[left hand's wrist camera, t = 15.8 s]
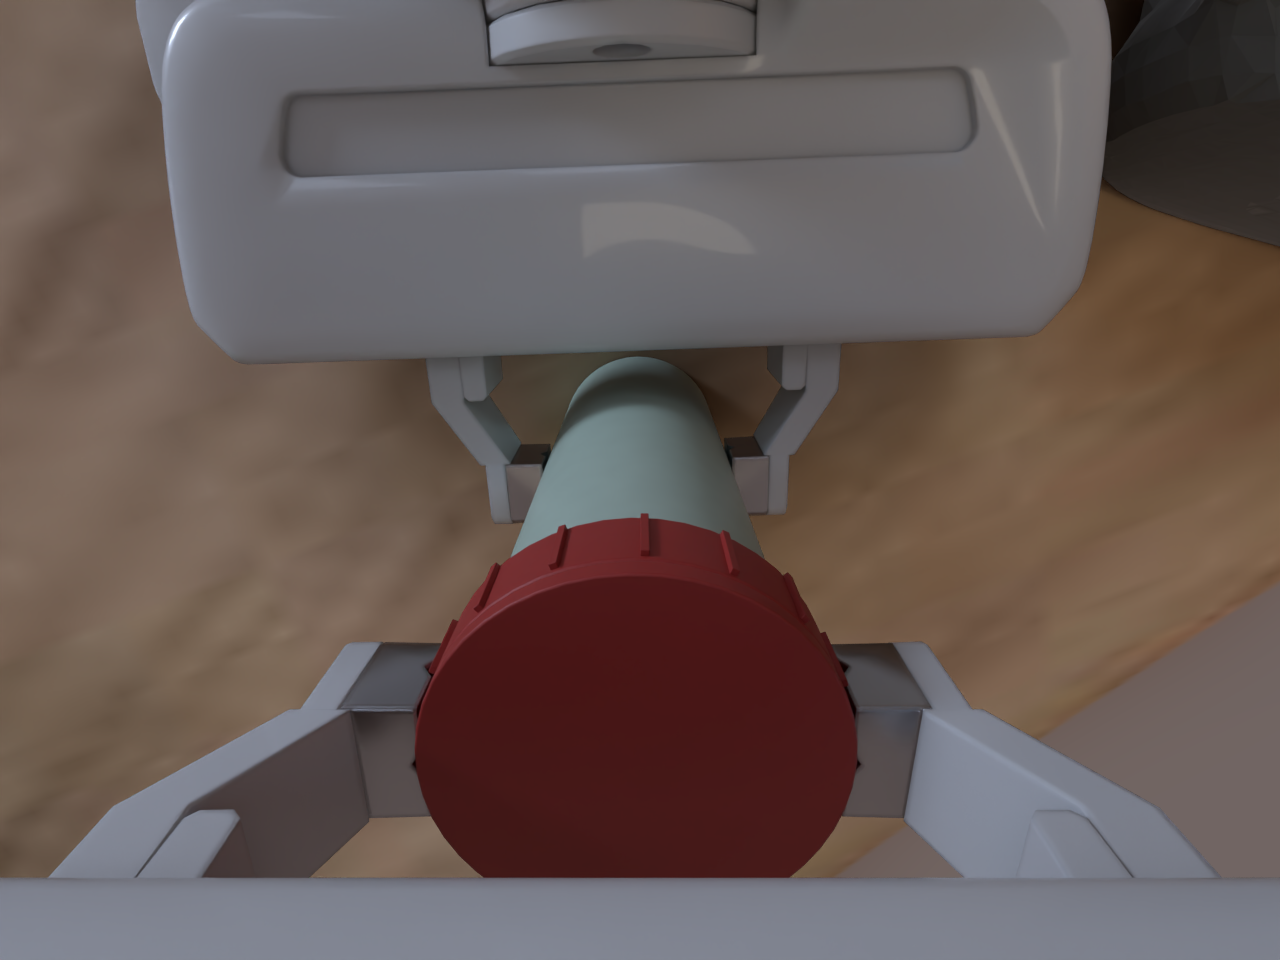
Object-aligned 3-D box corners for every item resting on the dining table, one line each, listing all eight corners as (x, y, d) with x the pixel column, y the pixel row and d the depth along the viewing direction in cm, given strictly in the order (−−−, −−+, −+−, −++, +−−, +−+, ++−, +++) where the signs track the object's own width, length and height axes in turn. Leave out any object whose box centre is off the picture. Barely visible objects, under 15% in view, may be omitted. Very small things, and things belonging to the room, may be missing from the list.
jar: (740, 413, 23) (898, 712, 9) (654, 521, 25) (673, 928, 10) (621, 326, 22) (588, 508, 8) (538, 444, 24) (384, 778, 9)
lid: (908, 652, 10) (956, 729, 9) (674, 883, 12) (679, 983, 10) (586, 432, 9) (575, 477, 7) (376, 722, 11) (331, 808, 9)
